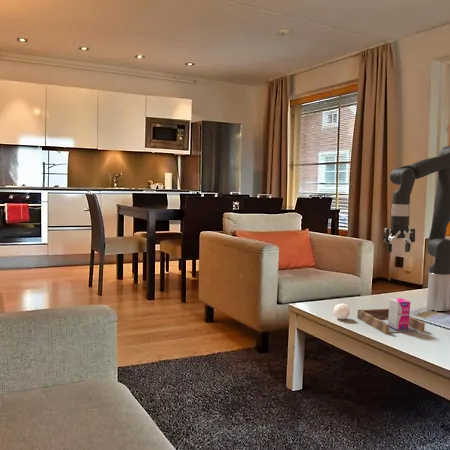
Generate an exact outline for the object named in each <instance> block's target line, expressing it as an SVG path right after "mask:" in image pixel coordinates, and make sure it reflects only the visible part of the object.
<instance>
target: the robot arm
mask: <svg viewBox="0 0 450 450" xmlns="http://www.w3.org/2000/svg"><path fill="white" fill-rule="evenodd" d="M436 172H437V181H436V191H435V198H434V205H433V215H432V220H431V221H432V222H431V228H430V231H429V236H428V239H427V245H426V249H427V252H428V254H429V255H430V256H431V257H434V263H433V264H431V265H430V266H429V267H428V278H427V279H428V283H427V295H426V296H427V298H426V299H427V300H426V309H427V310H428V311H432V310H434V311H433V312H437V311H447V310H450V239H448V238H446V234H447V228H448V227H449V226H448V225H449V223H450V145H448V146H447V145H445V146H443V147H442V148H440V150H439V153H438V155H437V156H433V157H427V158H425V159H422V160H419V161H416V162H414V163H412V164H407V165H403V166H399V167H396V168H394V169H393V170H392V171H391V172H390V174H389V180H390V182H391V183H392V184H394V185H398V186H399V189H397V190H394V191H393V192H392V200H391V201H392V205H391V210H390V211H391V213H390V228H387V227H385V228H383V232H382V242H383V243H386V251H387V253H391V254H392V252H393V244H392V243H393V242H394V241H395V240H396V239H403V240H404V242H405V243H404V252H406V253H409V252H410V251H411V244H412V243H415V242H416V229H415V227H410V228H409V226H410V215H411V214H410V213H411V207H410V203H411V194H412V191H413V189H414V186H415V182H416V180H418V179H421V178H424V177H427V176H430V175H432V174H434V173H436ZM408 234H409V235H408ZM447 312H448V311H447Z"/></svg>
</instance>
